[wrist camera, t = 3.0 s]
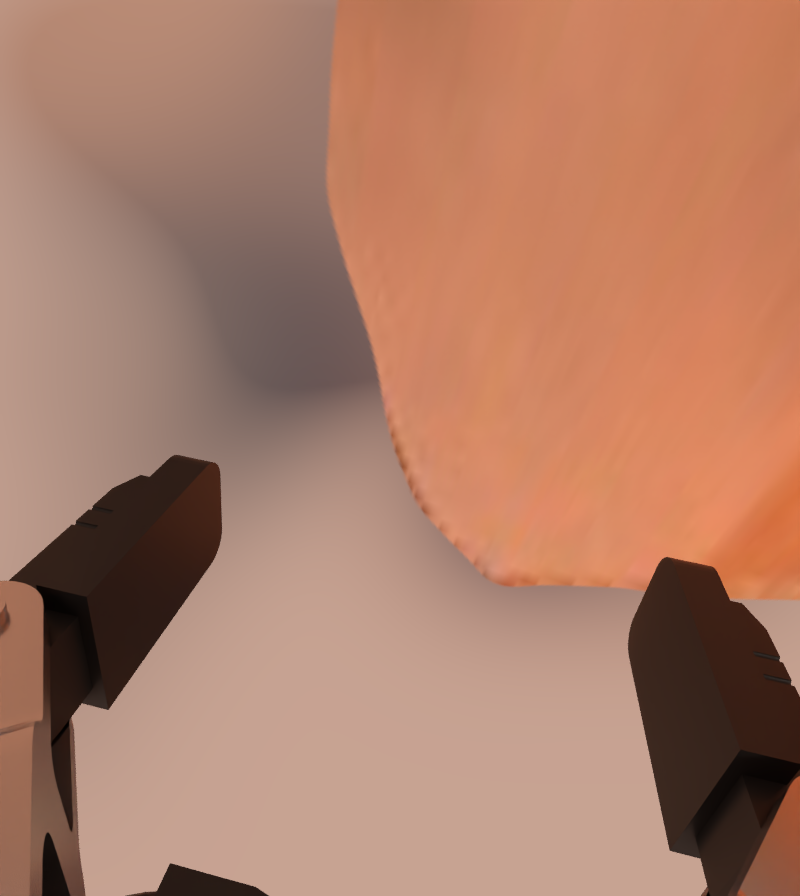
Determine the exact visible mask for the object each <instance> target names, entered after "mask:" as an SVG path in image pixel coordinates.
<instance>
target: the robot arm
mask: <svg viewBox="0 0 800 896" xmlns="http://www.w3.org/2000/svg"><path fill="white" fill-rule="evenodd" d="M220 484H221V483H220V470H219V467H218V465H217V464H216V463H213V462H208V461H204V460H198V459H194V458H189V457H185V456H180V455H174V456H172V457H170V458H169V459H168V460H167V461H166V462H165V463H164V464H163V465H162V466H161V467H160V468H159V469H158V470H157V471H156V472H155V473H153V474H152V475H151V476H150V477H147V476H143V475H140V476H138V477H136V478H134V479H131V480H129V481H127V482H125V483H123V484H121V485H119V486H116V487H114V488H112V489H111V490H110V491H109V492H108V493H107V494H106V495H105V496H103V497H102V498H101V499H100V500H99V501H98V502H97V503H96V504H94V505H93V508H92V510H88V511H87V512H86V513H84V514H83V515H82V516H81V517H80V518H79V519H78V520H76V524H75V525H71V526H70V527H69V528H67V529H66V530H65V531H64V532H63V533H62V534H61V535H60V536H59V537H57V538H56V539H55V540H54V541H53V542H52V543H51V544H49V545H48V546H47V547H46V548H45V549H44V550H43V551H42V552H40V553H39V554H38V555H37V556H36V557H35V558H34V559H33V560H31V561H30V562H29V563H28V564H27V565H26V566H25V567H24V568H22V569H21V570H20V571H19V572H18V573H17V574H16V575H15V576H13V577H12V578H11V579H10V580H9V581H0V896H85V888H84V879H83V873H82V867H81V859H80V850H79V837H78V836H79V835H78V812H77V788H76V766H75V765H76V764H75V741H74V727H73V722H72V718H71V717H72V715H73V714H74V713H75V711H76V710H77V709H78V707H79V705H81V703H83V704H87V705H92V706H95V707H99V708H103V709H107V710H109V708H110V707H111V705H112V704H113V702H114V701H115V699H116V698H117V696H118V695H119V694H120V692H121V691H122V690H123V688H124V687H125V685H126V684H127V683H128V681H129V680H130V678H131V677H132V676H133V674H134V673H135V671H136V670H137V668H138V667H139V665H140V664H141V663H142V661H143V660H144V659H145V657H146V656H147V654H148V653H149V651H150V650H151V648H152V647H153V646H154V644H155V643H156V641H157V640H158V639H159V637H160V636H161V634H162V633H163V631H164V630H165V629H166V627H167V626H168V624H169V623H170V622H171V620H172V619H173V617H174V616H175V615H176V613H177V612H178V610H179V609H180V607H181V606H182V605H183V603H184V602H185V600H186V599H187V597H188V596H189V594H190V593H191V592H192V590H193V589H194V588H195V586H196V585H197V583H198V582H199V580H200V579H201V578H202V576H203V575H204V573H205V572H206V570H207V569H208V568H209V566H210V565H211V563H212V562H213V560H214V558H215V556H216V554H217V551H218V548H219V545H220V541H221V534H222V517H221V487H220V486H221V485H220ZM628 651H629V658H630V663H631V668H632V673H633V678H634V682H635V687H636V692H637V697H638V701H639V706H640V711H641V716H642V720H643V725H644V730H645V735H646V740H647V745H648V749H649V754H650V759H651V764H652V768H653V773H654V778H655V782H656V787H657V792H658V797H659V802H660V806H661V811H662V816H663V821H664V825H665V830H666V835H667V840H668V845H669V849H670V851H673V852H677V853H681V854H685V855H689V856H693V857H697V858H701V862H702V866H703V870H704V874H705V878H706V882H707V886H708V887H707V888H706V889H705V890H704V892H703V893H702V895H701V896H800V697H799V694H798V692H797V690H796V688H795V687H794V686H791V678H790V676H789V674H788V672H787V670H786V668H785V666H784V664H783V663H782V662H780V661H779V659H780V656H779V654H778V652H777V650H776V648H775V646H774V644H773V642H772V640H771V638H770V636H769V634H768V632H767V630H766V629H765V628H764V626H763V625H762V624H761V623H760V622H759V621H758V620H757V619H756V618H755V617H754V616H753V615H752V614H751V613H750V612H749V610H748V609H747V608H746V607H745V606H744V605H743V604H742V603H738V602H733V601H730V599H729V597H728V595H727V593H726V590H725V588H724V586H723V584H722V581H721V579H720V577H719V575H718V573H717V571H716V570H715V569H714V568H713V567H711V566H707V565H702V564H697V563H692V562H688V561H683V560H678V559H674V558H669V557H666V558H664V559H662V560H661V561H660V563H659V564H658V566H657V568H656V570H655V573H654V575H653V577H652V579H651V581H650V583H649V586H648V588H647V590H646V592H645V594H644V597H643V599H642V601H641V603H640V605H639V607H638V610H637V612H636V614H635V616H634V618H633V621H632V624H631V627H630V632H629V640H628ZM127 896H268V895H267V894H265V893H264V892H262V891H260V890H259V889H258V888H256V887H254V886H250V885H246V884H243V883H239V882H235V881H232V880H228V879H224V878H221V877H218V876H214V875H210V874H206V873H203V872H200V871H196V870H192V869H189V868H185V867H181V866H178V865H174V864H170V865H169V867H168V869H167V871H166V873H165V875H164V877H163V880H162V882H161V884H160V886H159V888H158V890H157V891H156V892H143V893H138V894H133V895H127Z"/></svg>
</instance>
